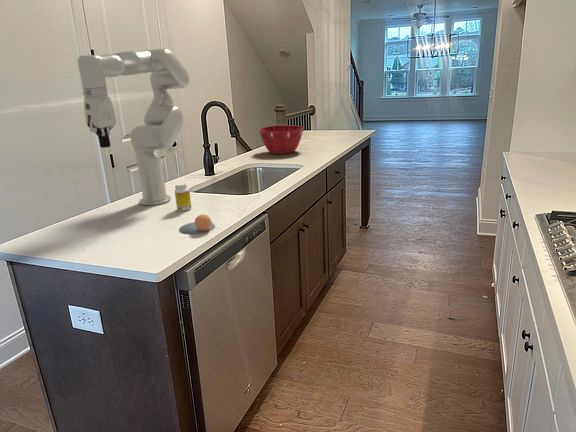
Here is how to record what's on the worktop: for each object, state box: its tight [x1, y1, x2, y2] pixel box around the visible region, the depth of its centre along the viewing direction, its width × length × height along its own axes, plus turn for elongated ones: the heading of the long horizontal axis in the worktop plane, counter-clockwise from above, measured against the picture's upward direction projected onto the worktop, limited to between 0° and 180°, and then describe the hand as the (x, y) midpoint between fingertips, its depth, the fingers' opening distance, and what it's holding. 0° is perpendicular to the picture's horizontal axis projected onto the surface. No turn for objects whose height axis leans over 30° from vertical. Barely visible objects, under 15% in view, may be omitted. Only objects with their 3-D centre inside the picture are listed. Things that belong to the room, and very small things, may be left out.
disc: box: [178, 221, 216, 235], centre depth 150 cm, size 12×12×1 cm
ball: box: [194, 213, 213, 231], centre depth 147 cm, size 6×6×6 cm
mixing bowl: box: [258, 124, 304, 155], centre depth 278 cm, size 28×28×16 cm
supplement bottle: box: [174, 182, 192, 212], centre depth 171 cm, size 6×6×10 cm
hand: (105, 147), depth 156 cm, fingers closed
